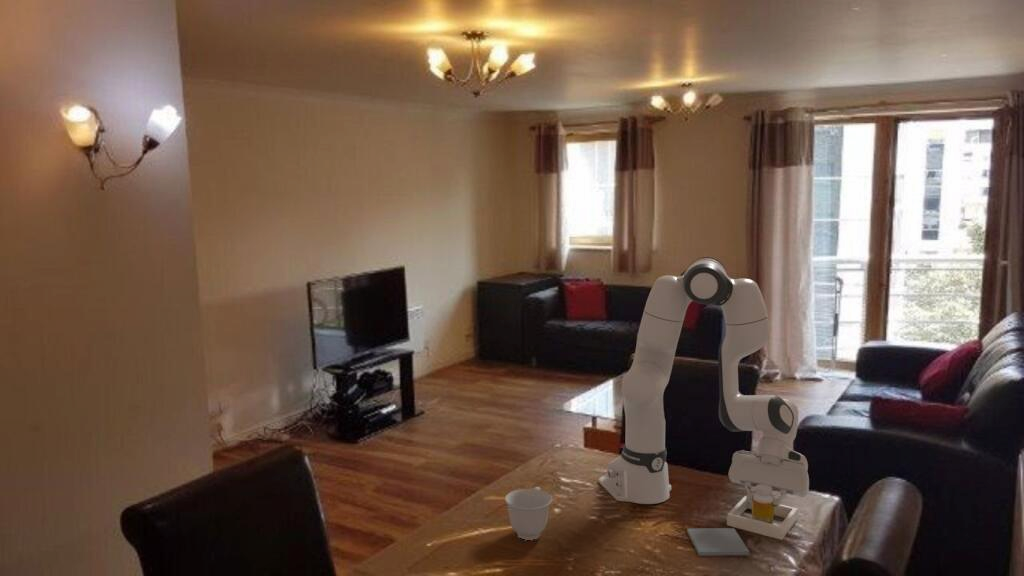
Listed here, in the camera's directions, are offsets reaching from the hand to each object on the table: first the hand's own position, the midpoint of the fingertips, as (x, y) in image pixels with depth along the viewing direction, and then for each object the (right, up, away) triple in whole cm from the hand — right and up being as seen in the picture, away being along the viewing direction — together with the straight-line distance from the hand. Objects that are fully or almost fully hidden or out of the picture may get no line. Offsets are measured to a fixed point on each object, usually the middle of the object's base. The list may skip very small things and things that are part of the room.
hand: (762, 503), depth 194 cm
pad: (-15, -7, -10) cm, 19 cm away
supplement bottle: (0, -5, +1) cm, 6 cm away
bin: (0, -5, +1) cm, 5 cm away
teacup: (-61, -7, -4) cm, 61 cm away
